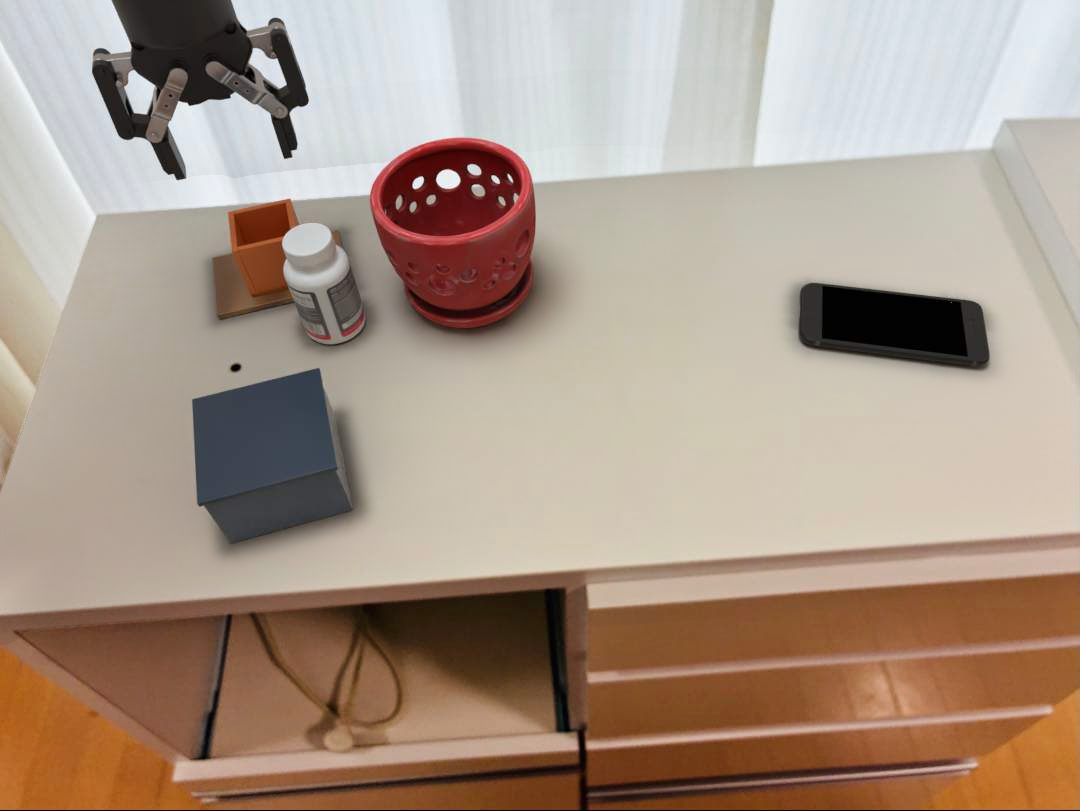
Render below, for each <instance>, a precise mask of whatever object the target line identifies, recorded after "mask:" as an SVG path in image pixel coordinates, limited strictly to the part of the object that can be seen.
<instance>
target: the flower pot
mask: <svg viewBox="0 0 1080 811" xmlns="http://www.w3.org/2000/svg"><path fill="white" fill-rule="evenodd" d="M470 165H474V166H477V167H478V168H479V169H480V174H474V173H472V172H470V170H469V169H468V167H469V166H470ZM446 170H447V171H452V172H455V173H456V174H457V175H458V177H459V184H458V185H456V186H455V187H452V188H445V187H442V186H440V185H439V184H438V182H437V178H438V175H439V174H440V173H441V172H443V171H446ZM493 176H494V177H496V178H497V179H498V181H499V183H497V182H495V181H494V180H493V178H492V177H493ZM509 176H510V177H511V180H512V181H511V180H510V178H509ZM420 177H421V178H423V182H422V184H421V186H419V187H417V188H414V186H413V185H414V181H415V180H416V179H419V178H420ZM475 185H476V186H477V185H478V186H480V187H481V188H483V190H484V195H481V196H479V195H476V194H475V193H474V191H473V186H475ZM515 194H516V195H517V196H518V197H517V200H516V201H515V197H514V196H515ZM430 196H434V197H435V200H434V202H432V203H430V204H428V198H429V197H430ZM399 197H401V204H400V206H399V207H398V208H397V200H398V198H399ZM500 197H501V198H502V199H503V200H504V203H505V204H502V203H501V202H500V199H499V198H500ZM413 203H415V204H416V205H415V209H414V210H413V211H411V205H412V204H413ZM369 207H370V211H371V212H370V213H371V216H372V220H373V223H374V226H375V230H376V234H377V235H378V238H379V241H380V244H381V247H382V248H383V250H384V253H385V254H386V257H387V258H388V261H389V262H390V265H391V266H392V268H393V270H394V271H395V273H396V274H397V276H398V277H399V278H400V279H401V281H402V282H403V289H404V293H405V295H406V299H407V300H408V301H409V303H410V305H411V306H412V307H413V309H414V310H415V311H416V312H417V313H419V314H420V315H421V316H422V317H424V318H426V319H428V320H429V321H431V322H433V323H435V324H438V325H442V326H445V327H450V328H457V329H459V328H461V329H467V328H469V329H470V328H477V327H482V326H487V325H489V324H492V323H495V322H497V321H499V320H501V319H503V318H505V317H507V316H508V315H510V314H511V313H513V312H514V311H515V310H516V309H517V308H518V307H520V305H521V304H522V303H523V302H524V301H525V299H526V298H527V296H528V294H529V292H530V291H531V287H532V284H533V280H534V266H533V261H532V259H531V257H532V253H533V248H534V244H535V239H536V238H535V237H536V226H537V225H536V224H537V223H536V222H537V214H536V213H537V211H536V207H537V206H536V197H535V190H534V184H533V178H532V175H531V171H530V169H529V167H528V164H526V162H525V160H524V159H522V157H521V156H519V155H518V153H516V152H514V151H513V150H511V149H510V148H508V147H506V146H504V145H502V144H500V143H497V142H495V141H491V140H487V139H482V138H475V137H448V138H441V139H436V140H432V141H428V142H425V143H421V144H418V145H416V146H414V147H412V148H410V149H408V150H406V151H405V152H402V153H401V154H399V155H398V156H396V157H395V158H393V159H392V160H391V161H390V162H389V163H387V165H386V166H384V167H383V168H382V169H381V171H380V172H379V174H378V175H377V176H376V178H375V179H374V181H373V183H372V186H371V189H370V193H369Z"/></svg>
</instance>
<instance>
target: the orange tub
mask: <svg viewBox="0 0 1080 811" xmlns="http://www.w3.org/2000/svg"><path fill="white" fill-rule="evenodd" d="M227 218H228V227H229V237H230V238H229V239H230V248H231V254H232V253H233V255H234V257H235V260H236V262H237V264H238V266H239V269H240V271H241V273H242V275H243V278H244V280H245V282H246V284H247V287H248V289H249V291H250V293H251V296H252V297H257V296H261V295H265V294H269V293H274V292H278V291H282V290H287V289H289V287H288V285H287V282H286V281H285V277H284V273H283V267H284V263H285V261H286V259H287V258H286V255H285V253H284V250H283V247H282V240H283V238H284V236H285V234H286V233H287V232H288V231H290V230H291V229H292V228H294V227H296V226H298V225H300V222H299V219H298V216H297V212H296V211H295V208H294V205H293V202H292V199H291V198H286V199H282V200H276V201H271V202H268V203H263V204H258V205H253V206H249V207H244V208H240V209H234V210H230V211H227Z"/></svg>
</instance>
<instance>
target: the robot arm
mask: <svg viewBox="0 0 1080 811" xmlns="http://www.w3.org/2000/svg"><path fill="white" fill-rule="evenodd" d="M111 4H112V5H113V6H114V9H115V12H116V14H117V17H118V19H119V21H120V23H121V26H122V28H123V30H124V33H125V35H126V37H127V39H128V41H129V44H130V47H131V48H130V51H123V52H116V53H111V52H110V51H109V50H108V49H106V48H103V47H98V48H95V49H94V50H93V52H92V64H91V75H92V77H93V79H94V81H95V84H96V86H97V88H98V90H99V93H100V95H101V98H102V100H103V102H104V105H105V107H106V110H107V112H108V114H109V117H110V119H111V121H112V124H113V126H114V128H115V131H116V133H117V135H118V137H119V138H120V139H122V140H125V141H131V140H133V139H134V138H138V139H144V140H146V141H148V142H149V143H150V145H151V147H152V149H153V152H154V154H155V155H156V158H157V160H158V162H159V164H160V166H161V168H162V171H163V172H165V174H167V175H168V176H171V175H174V178H175V180H176V181H182V180H186V179H187V167H186V164H185V161H184V158H183V156H182V154H181V152H180V150H179V147H178V144H177V143H176V140H175V138H174V136H173V134H172V131H171V129H170V127H169V123H170V122H171V121H172V119H173V117H174V114H175V111H176V110H177V107H178V104H179V102H180V103H184V104H187V105H188V107H191V106H197V105H200V104H203V103H205V102H207V101H209V100H211V101H223V100H228V99H231V98H232V97H231V96H232V95H233V94H235V93H236V94H238V95H239V97H240V96H241V97H242V98H243V99H245V100H246V101H247V102H249V103H250V104H252V105H257V106H259V107H260V108H262V109H263V110H264V111H266V112H267V113H268V114H270V119H271V124H272V126H273V130H274V133H275V136H276V139H277V142H278V145H279V148H280V151H281V154H282V157H283V160H288V159H292V158H293V151H297V150H298V145H299V144H298V138H297V134H296V131H295V126H294V124H293V120H292V117H291V112H292V111H293V110H294V109H296V108H297V107H300V108H303V107H306V106H308V104H309V101H310V99H309V93H308V91H307V85H306V82H305V79H304V76H303V73H302V70H301V68H300V67H301V66H300V63H299V62H298V59H297V56H296V53H295V50H294V47H293V44H292V42H291V39H290V36H289V33H288V30H287V27H286V25H285V22H284V20H282V19H281V18H279V17H272V18H271V19H269V20H268V22H267V25H265V26H262V27H257V28H253V29H248V30H247V29H246V28H245V27H244V26H243V25H242V24H241V22H240V21H239V18H238V17H237V13H236V11H235V8H234V4H233V1H232V0H111ZM254 49H259V50H260V51H262V52H263V53H264V55H265V56H266V57H267V58H268V59H270V60H277V62H278V64H279V67H280V70H281V73H282V75H283V78H284V81H285V85H284V86H282V87H281V88H280V87H279V86H277V85H275V83H273V82H271V81H270V80H269V79H268V78H266V77H265V76H264V75H263V73H262V72H261V71H260V69H258V68H256V67H255V66H254V65H253V64H251V63H250V61H251V58H252V56H253V51H254ZM132 71H135V72H136V73H137V75H138V76H140V77H141V78H143V79H145V80H146V81H148V82H149V83H151V85H153V86H154V88H153V91H152V97H151V100H150V102H149V106H148V109H147V111H146V113H140V112H139V113H138V112H135V111H134V109H133V105H132V104H131V101H130V99H129V95H128V93H127V91H126V89H125V87H126V86H127V85H128V84H129V76H130V75H129V74H130V73H131V72H132Z"/></svg>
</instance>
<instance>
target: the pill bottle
mask: <svg viewBox="0 0 1080 811" xmlns="http://www.w3.org/2000/svg"><path fill="white" fill-rule="evenodd" d="M331 231H332V230H330V228H329V227H328V226H326V225H325V224H323V223H319V222H307V223H301V224H299V225H298V226H296V227H294V228H292V229H291V230H290V231H288V232H287V233H286V234H285V236H284V238H283V240H282V247H283V250H284V253H285V255H286V258H287V259H286V261H285V263H284V267H283V273H284V277H285V281H286V282H287V285H288V287H289V290H290V292H291V295H292V297H293V300H294V302H293V303H294V305H295V308H296V309H297V313H298V315H299V317H300V318H299V319H300V320H301V322H302V325H303V327H304V329H305V332H306V334H307V335H308V337H309V338H310V339H312V340H313V341H315V342H316V343H319V344H324V345H336V344H341V343H345V342H347V341H349V340H351V339H353V338H354V337H355V336H357V335H358V334H359V333H360V332H361V330H363V328H364V326H365V323H366V320H367V319H366V316H367V315H366V312H365V308H364V304H363V301H362V298H361V295H360V291H359V287H358V285H357V280H356V278H355V275H354V272H353V268H352V264H351V260H350V258H349V256H348V255H347V252H346V251H345V250H344V249H343V247H342V248H341V247H339V246H338V245H336V244H335V241H334V239H333V236H332V233H331Z"/></svg>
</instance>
